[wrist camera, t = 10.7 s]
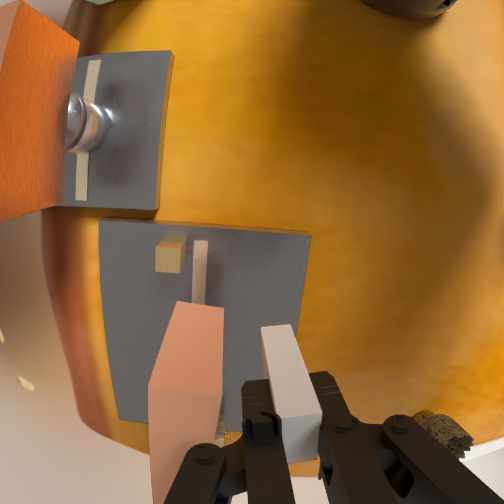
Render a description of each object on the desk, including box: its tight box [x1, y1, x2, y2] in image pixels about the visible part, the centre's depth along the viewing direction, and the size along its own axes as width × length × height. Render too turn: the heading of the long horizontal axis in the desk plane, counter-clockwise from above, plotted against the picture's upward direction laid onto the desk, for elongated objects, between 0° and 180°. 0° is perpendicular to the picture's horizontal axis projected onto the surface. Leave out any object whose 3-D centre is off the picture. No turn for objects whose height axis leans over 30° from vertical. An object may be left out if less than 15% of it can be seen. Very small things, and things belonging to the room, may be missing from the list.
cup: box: [413, 410, 474, 460], centre depth 29 cm, size 8×7×8 cm
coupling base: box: [99, 217, 311, 448], centre depth 24 cm, size 20×16×6 cm
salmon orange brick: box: [148, 301, 224, 504], centre depth 17 cm, size 4×13×9 cm, turn 170°
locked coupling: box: [0, 0, 174, 222], centre depth 15 cm, size 12×12×14 cm
